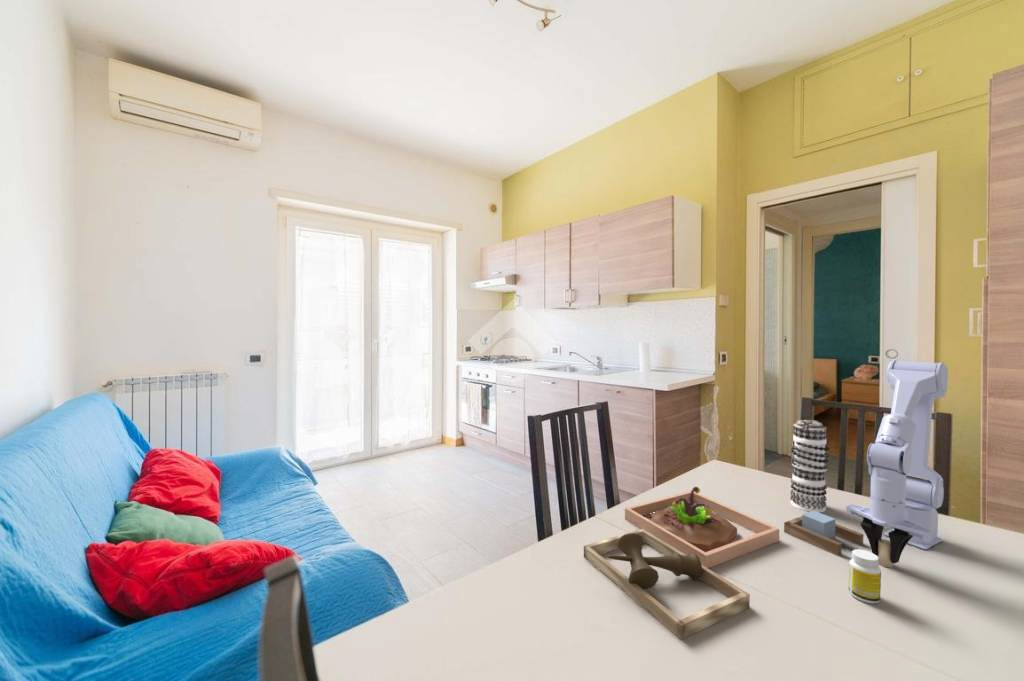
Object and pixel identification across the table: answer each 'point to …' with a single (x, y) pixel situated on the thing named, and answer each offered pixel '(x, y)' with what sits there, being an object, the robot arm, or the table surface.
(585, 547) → the beech serving tray
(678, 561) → the kendama
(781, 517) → the table surface
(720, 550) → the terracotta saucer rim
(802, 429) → the decorative candle
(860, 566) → the supplement bottle
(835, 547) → the walnut lane
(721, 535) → the plant
